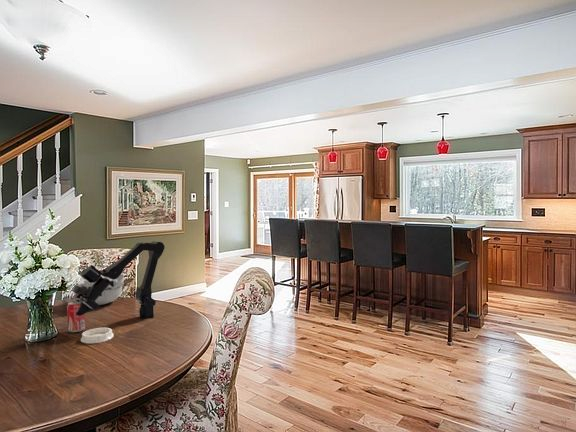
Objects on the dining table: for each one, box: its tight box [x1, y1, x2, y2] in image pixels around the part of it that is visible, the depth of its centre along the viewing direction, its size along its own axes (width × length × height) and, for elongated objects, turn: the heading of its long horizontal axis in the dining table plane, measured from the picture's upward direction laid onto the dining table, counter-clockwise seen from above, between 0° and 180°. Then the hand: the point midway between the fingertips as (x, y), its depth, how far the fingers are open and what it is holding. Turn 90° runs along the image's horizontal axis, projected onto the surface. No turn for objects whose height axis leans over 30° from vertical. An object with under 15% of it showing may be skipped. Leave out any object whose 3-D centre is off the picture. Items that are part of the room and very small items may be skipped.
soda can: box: [66, 300, 86, 333], centre depth 186 cm, size 7×7×13 cm
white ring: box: [80, 327, 114, 345], centre depth 176 cm, size 13×13×3 cm
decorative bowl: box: [71, 273, 125, 306], centre depth 234 cm, size 30×30×15 cm
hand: (73, 316), depth 185 cm, fingers closed on soda can, 4 cm apart
